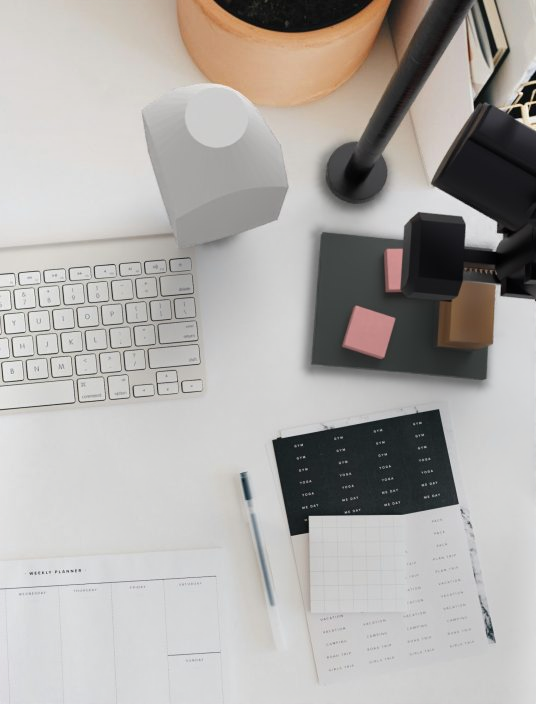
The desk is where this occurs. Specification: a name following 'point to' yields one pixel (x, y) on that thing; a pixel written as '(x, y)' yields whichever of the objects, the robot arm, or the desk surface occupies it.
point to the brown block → (466, 318)
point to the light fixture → (213, 162)
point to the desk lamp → (394, 105)
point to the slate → (370, 293)
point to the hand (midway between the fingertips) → (485, 290)
